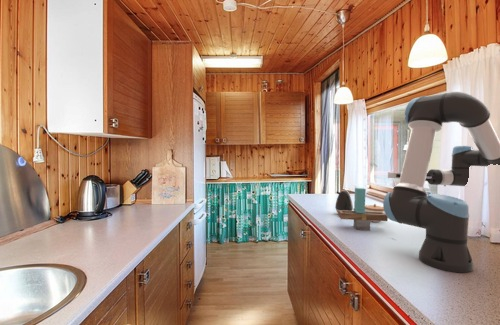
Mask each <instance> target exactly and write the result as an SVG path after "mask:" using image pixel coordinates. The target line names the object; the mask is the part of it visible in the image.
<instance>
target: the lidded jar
mask: <svg viewBox="0 0 500 325" xmlns="http://www.w3.org/2000/svg"><path fill="white" fill-rule="evenodd" d="M365 211H373V212H383V213H385V212H384V207H383V206H380V205H377V204H376V203H374V204H373V205H372V204H368V205H366V204H365ZM372 221H373V220H370V222H372ZM380 222H381V221H373V223H380Z"/></svg>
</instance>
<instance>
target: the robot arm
mask: <svg viewBox="0 0 500 325" xmlns="http://www.w3.org/2000/svg"><path fill="white" fill-rule="evenodd" d="M490 117H491V113H490V110H489V108H488V107H487V105H486V104H485V103H484V102H483V101H482V100H480V99H479V98H477V97H476V96H474V95H472V94H469V93H466V92H462V91H449V92H444V93H437V94H432V95H422V96H419V97H415V98H412V99H411V100H409V102H408V103H407V105H406V107H405V110H404V120H405V123H406V124H407V126H408V128H409V129H410V134H409V139H408V143H407V147H406V151H405V156H404V161H403V164H402V170H401V172H391V171H390V172H387V178H388V179H399V181H398V184H396V185H394V186H393V189H392V191H388V192H387V193H386V194H385V195H384V198H383V201H382V202H383V203H382V204H383V206H382V207H384V212H385V214H386V216H387V217H388V219H389V220H390V221H392V222H396V223H398V224H400V225H401V224H404V225H408V226H412V227H417V228H420V229H425V238H424V240H423V242H422V245H421V247H420V249H419V252H418V260H420V262H422V263H424V264H426V265H428V266H430V267H433V268H436V269H439V270H442V271H448V272H454V273H470V272H472V271H473V269H474V262H473V259H472V255H471V253H470V249H469V246H468V237H469V236H468V234H469V221H470V220H469V218H470V212H469V211H470V210H469V208H470V207H469V204H468V202H466V201H464V200H463V199H461V198H458V197H455V196H450V195H446V194H439V193H429V194H428V192H427V191H426V190H425V184H426V182H427V183H428V184H429V185H433V186H439V185H440V186H443V187H447V186H452V187H453V186H454V187H466V186H465V185H466V184H467V182H468V178H469V167H470V166H471V167H486V168H487V166H488V165H490V164H493V165H496V164H498V165H500V139H499V137H498V134H497V132H496V131H495V129H494V127H493V124H492V122H491V120H490ZM447 123H458V124H459V125H460V126H461V127H463V128H465V129H466V131H467V133H468V134H469V136H470V137H471V139H472V141H473V142H474V145H475V146H476V148H477V149H473V150H471V147H472V146H471V145H455V146H454V147H452V153H451V165H450V166H451V167H450V168H451V169H435V168H434V169H429V165H430V161H431V157H432V154H433V153H432V152H433V148H434V143H435V139H436V134H437V133H438V132H440V131H441V130H442V128H443V124H447Z"/></svg>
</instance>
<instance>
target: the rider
mask: <svg viewBox="0 0 500 325" xmlns="http://www.w3.org/2000/svg"><path fill="white" fill-rule="evenodd" d="M365 206H366V188H364V187H354V205H353V211H355V213H366V211H365Z"/></svg>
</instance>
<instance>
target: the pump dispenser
mask: <svg viewBox="0 0 500 325" xmlns="http://www.w3.org/2000/svg"><path fill="white" fill-rule="evenodd" d="M336 194H338V195H337V198H336V202H335V207H334V208H335V210H336V213H337V214H338V210H348V211H354V205H353V199H352V196H351V194H350V192H349V191H348V190H346V189H343V190H340V191H336Z"/></svg>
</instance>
